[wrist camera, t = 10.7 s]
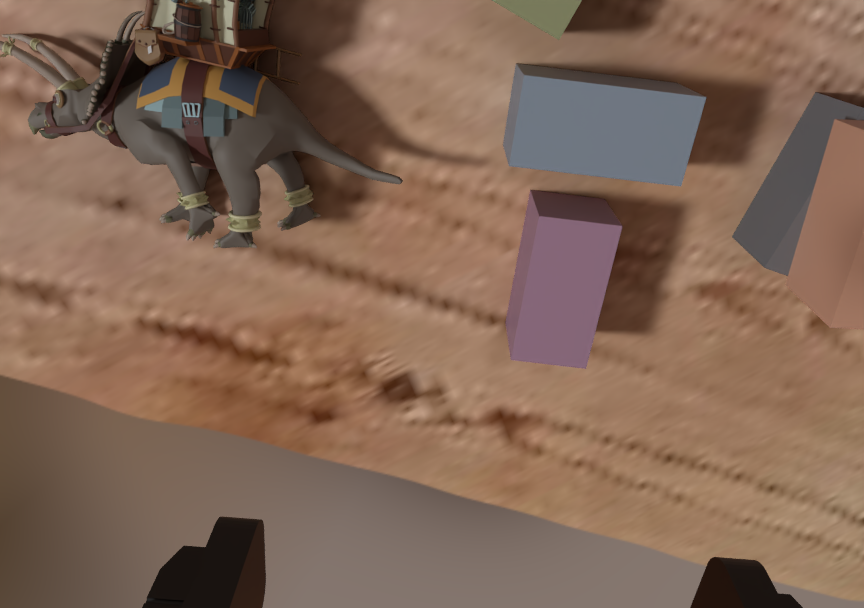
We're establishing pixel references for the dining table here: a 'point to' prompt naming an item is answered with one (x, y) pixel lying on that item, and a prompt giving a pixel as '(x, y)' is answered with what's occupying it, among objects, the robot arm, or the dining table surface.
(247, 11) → the figurine
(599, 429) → the dining table surface
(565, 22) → the olive brick
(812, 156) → the charcoal brick
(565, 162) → the slate blue brick
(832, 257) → the terracotta brick
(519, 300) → the plum brick
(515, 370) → the dining table surface
